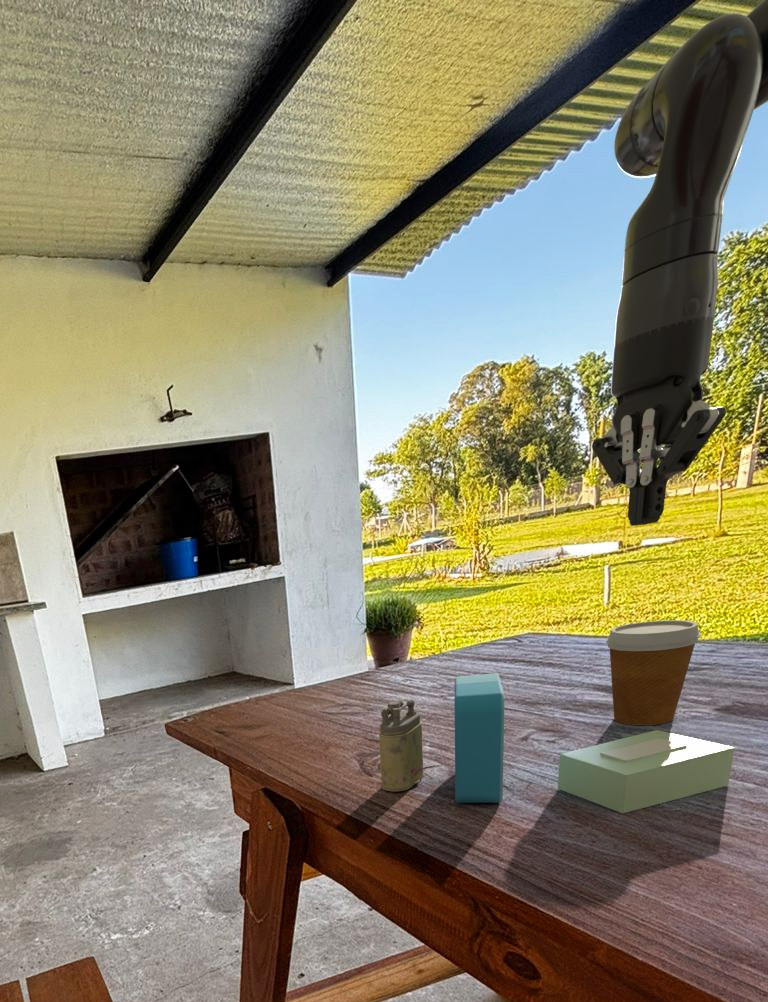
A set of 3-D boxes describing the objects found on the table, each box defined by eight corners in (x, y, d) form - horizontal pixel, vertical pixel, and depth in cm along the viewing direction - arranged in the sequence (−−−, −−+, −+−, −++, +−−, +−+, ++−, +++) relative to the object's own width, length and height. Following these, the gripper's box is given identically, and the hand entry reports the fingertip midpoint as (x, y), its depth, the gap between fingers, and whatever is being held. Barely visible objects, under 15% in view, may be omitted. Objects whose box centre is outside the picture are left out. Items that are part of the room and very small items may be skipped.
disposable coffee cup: (582, 719, 85) (588, 631, 81) (642, 705, 86) (651, 617, 82) (643, 734, 76) (654, 637, 72) (710, 718, 77) (724, 621, 73)
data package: (455, 769, 76) (454, 674, 72) (496, 768, 74) (498, 670, 70) (455, 807, 66) (454, 699, 62) (502, 807, 64) (504, 696, 60)
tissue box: (657, 728, 66) (735, 745, 59) (653, 764, 68) (728, 785, 60) (559, 752, 65) (626, 773, 57) (557, 788, 66) (622, 813, 59)
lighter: (401, 771, 79) (398, 695, 75) (431, 773, 76) (429, 695, 73) (376, 790, 74) (371, 711, 71) (407, 794, 72) (403, 712, 68)
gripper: (771, 293, 53) (740, 510, 59) (635, 349, 65) (621, 524, 71) (696, 305, 52) (672, 524, 58) (572, 359, 64) (563, 535, 70)
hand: (644, 523), depth 65 cm, fingers closed
